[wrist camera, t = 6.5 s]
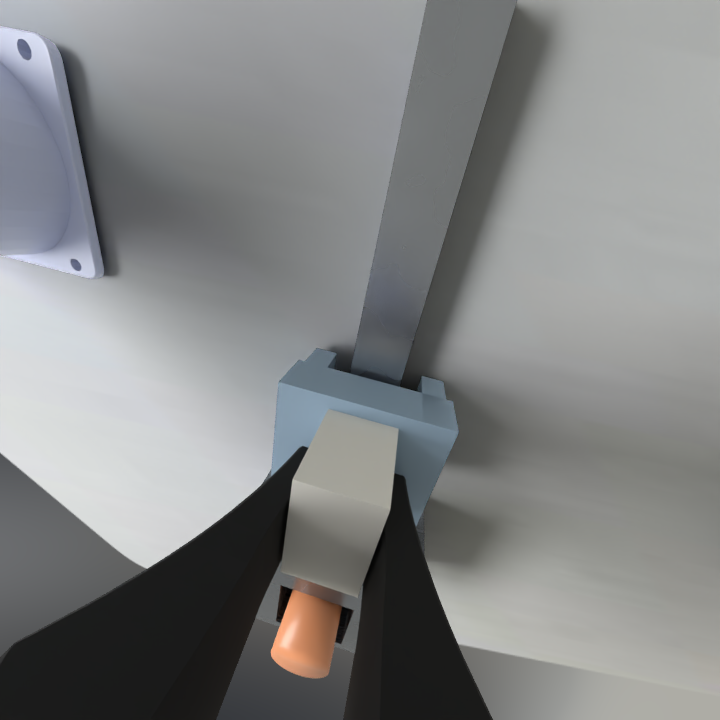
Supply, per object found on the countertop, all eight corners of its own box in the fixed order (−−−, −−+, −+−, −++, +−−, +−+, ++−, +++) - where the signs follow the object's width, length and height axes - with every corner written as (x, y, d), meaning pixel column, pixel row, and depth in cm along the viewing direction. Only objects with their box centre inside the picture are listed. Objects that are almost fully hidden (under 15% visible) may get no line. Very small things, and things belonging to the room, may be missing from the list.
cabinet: (275, 515, 18) (228, 608, 14) (281, 452, 16) (227, 540, 11) (398, 555, 18) (392, 666, 13) (425, 495, 15) (427, 607, 11)
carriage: (299, 434, 14) (225, 562, 9) (311, 346, 12) (222, 442, 7) (415, 468, 14) (412, 625, 8) (449, 383, 12) (476, 519, 6)
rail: (332, 474, 16) (324, 497, 14) (436, -11, 8) (440, -63, 6) (366, 484, 16) (362, 508, 14) (512, 1, 7) (532, -50, 6)
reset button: (304, 563, 15) (269, 664, 12) (309, 536, 14) (272, 638, 11) (346, 577, 15) (324, 684, 12) (355, 551, 14) (333, 660, 11)
